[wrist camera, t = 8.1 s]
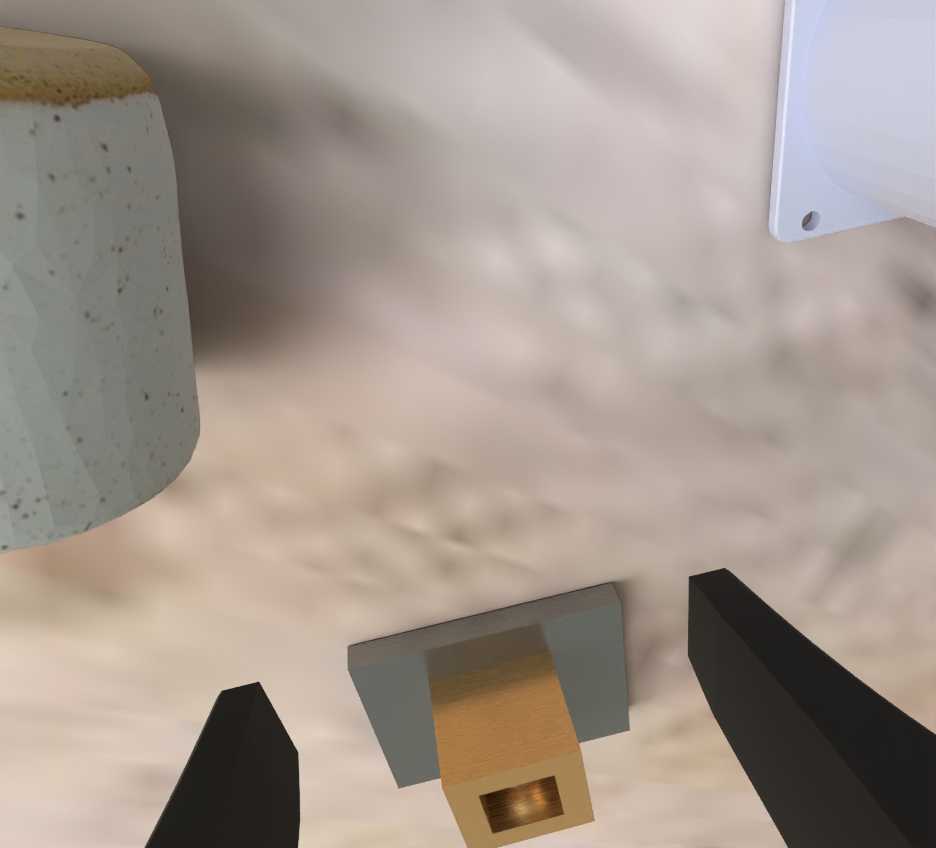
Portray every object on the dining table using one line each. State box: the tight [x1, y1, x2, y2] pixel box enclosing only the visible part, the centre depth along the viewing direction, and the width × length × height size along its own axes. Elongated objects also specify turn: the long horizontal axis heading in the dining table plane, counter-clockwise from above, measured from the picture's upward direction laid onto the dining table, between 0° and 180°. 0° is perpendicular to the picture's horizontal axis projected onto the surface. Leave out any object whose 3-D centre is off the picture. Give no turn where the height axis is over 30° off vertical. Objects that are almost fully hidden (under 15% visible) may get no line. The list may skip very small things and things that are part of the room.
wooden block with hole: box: [429, 651, 595, 848], centre depth 25 cm, size 5×5×4 cm
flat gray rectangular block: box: [348, 582, 630, 788], centre depth 26 cm, size 10×8×4 cm
